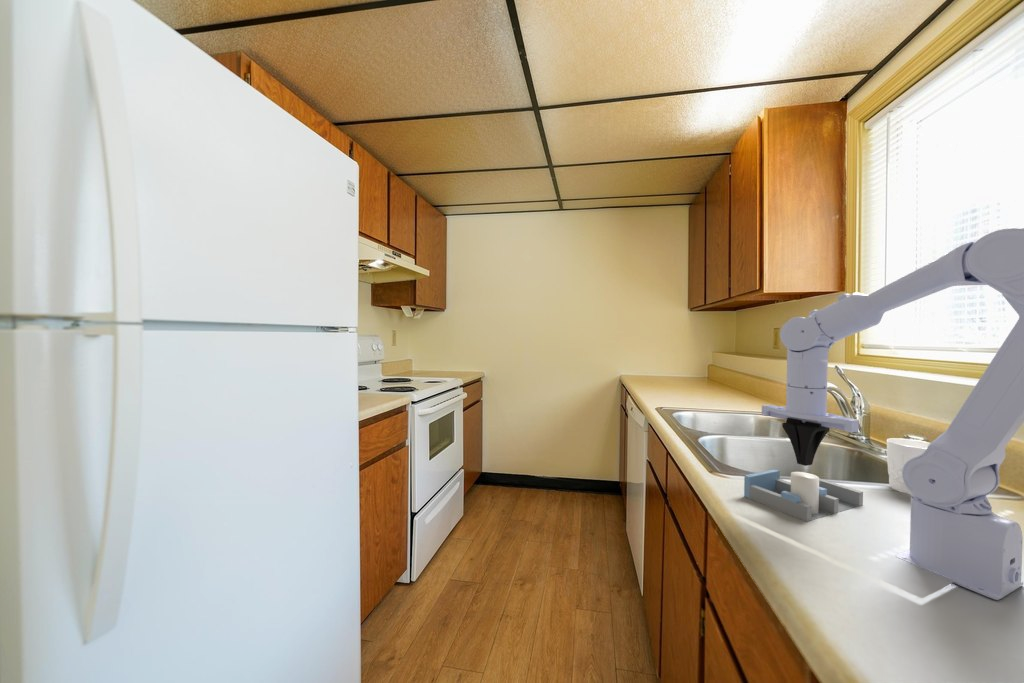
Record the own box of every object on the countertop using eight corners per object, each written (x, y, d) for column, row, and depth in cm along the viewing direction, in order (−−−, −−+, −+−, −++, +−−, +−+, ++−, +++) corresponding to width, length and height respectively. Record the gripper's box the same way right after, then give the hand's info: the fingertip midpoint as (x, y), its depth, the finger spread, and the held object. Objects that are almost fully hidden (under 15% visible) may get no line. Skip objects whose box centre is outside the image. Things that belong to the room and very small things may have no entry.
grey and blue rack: (862, 508, 72) (863, 482, 72) (806, 525, 65) (807, 497, 65) (798, 486, 82) (798, 464, 82) (744, 499, 75) (744, 475, 75)
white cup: (954, 501, 75) (956, 449, 75) (912, 501, 75) (913, 448, 75) (913, 485, 83) (914, 438, 82) (874, 485, 83) (875, 437, 83)
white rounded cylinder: (823, 512, 68) (824, 477, 68) (809, 516, 67) (810, 481, 67) (799, 503, 72) (799, 470, 72) (785, 506, 71) (785, 473, 70)
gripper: (870, 391, 64) (868, 474, 64) (778, 381, 77) (777, 450, 78) (844, 393, 61) (842, 480, 62) (754, 382, 75) (753, 454, 75)
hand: (804, 464), depth 69 cm, fingers closed
